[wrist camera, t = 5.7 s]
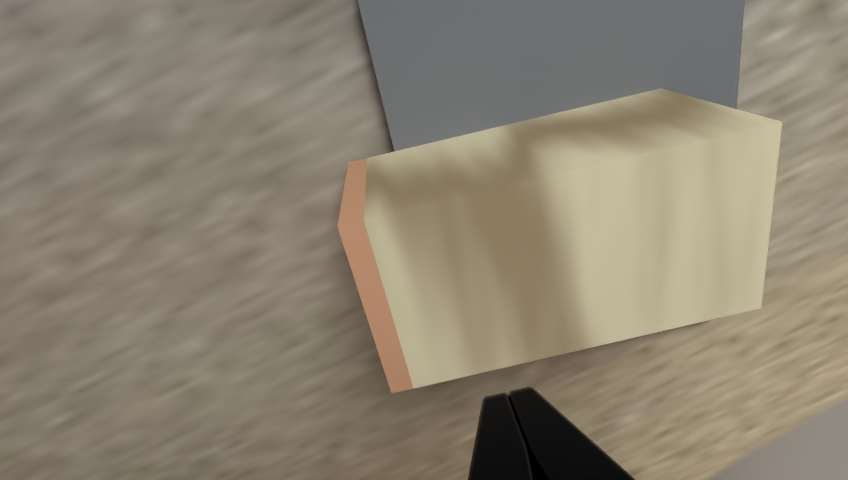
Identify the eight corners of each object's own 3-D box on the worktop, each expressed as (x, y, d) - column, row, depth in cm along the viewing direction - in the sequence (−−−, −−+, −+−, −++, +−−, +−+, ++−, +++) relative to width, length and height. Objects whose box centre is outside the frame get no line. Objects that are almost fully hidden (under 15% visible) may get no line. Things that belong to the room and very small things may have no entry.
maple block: (391, 393, 13) (761, 308, 13) (337, 226, 11) (782, 121, 11) (387, 294, 17) (660, 230, 17) (348, 162, 15) (661, 88, 15)
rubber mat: (448, 369, 20) (450, 379, 19) (356, -6, 14) (356, -6, 13) (711, 309, 20) (721, 317, 19) (737, -96, 14) (751, -100, 13)
